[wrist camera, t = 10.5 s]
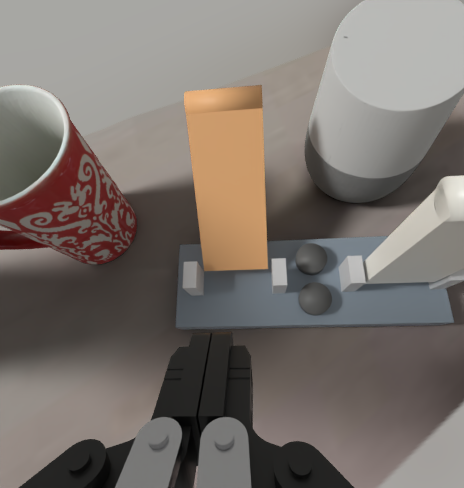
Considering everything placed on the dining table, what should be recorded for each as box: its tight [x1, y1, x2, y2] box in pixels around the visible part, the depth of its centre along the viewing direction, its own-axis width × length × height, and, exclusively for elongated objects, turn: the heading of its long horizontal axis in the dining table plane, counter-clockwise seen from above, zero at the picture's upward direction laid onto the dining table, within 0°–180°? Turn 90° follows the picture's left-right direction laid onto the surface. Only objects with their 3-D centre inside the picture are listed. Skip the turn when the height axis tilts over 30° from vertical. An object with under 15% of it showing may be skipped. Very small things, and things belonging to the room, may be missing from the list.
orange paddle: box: [184, 85, 268, 271], centre depth 23 cm, size 5×2×13 cm
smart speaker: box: [305, 0, 464, 203], centre depth 25 cm, size 10×9×14 cm
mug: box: [0, 85, 137, 264], centre depth 25 cm, size 13×9×14 cm
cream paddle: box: [363, 175, 464, 284], centre depth 18 cm, size 5×2×13 cm, turn 90°
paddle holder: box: [176, 236, 464, 330], centre depth 25 cm, size 21×7×5 cm, turn 90°
